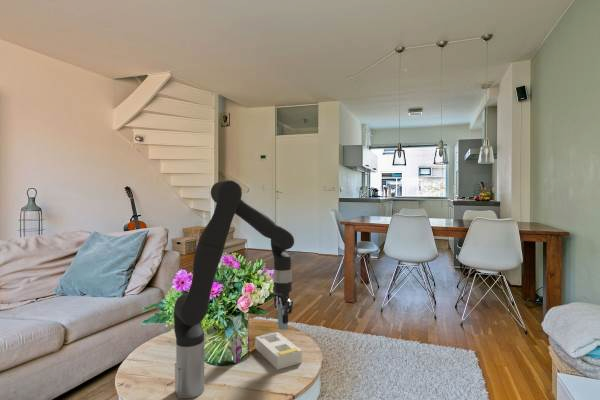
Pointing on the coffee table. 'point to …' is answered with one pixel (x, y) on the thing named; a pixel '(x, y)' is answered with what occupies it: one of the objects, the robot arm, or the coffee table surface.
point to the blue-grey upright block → (281, 319)
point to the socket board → (278, 350)
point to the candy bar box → (238, 346)
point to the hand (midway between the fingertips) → (282, 321)
